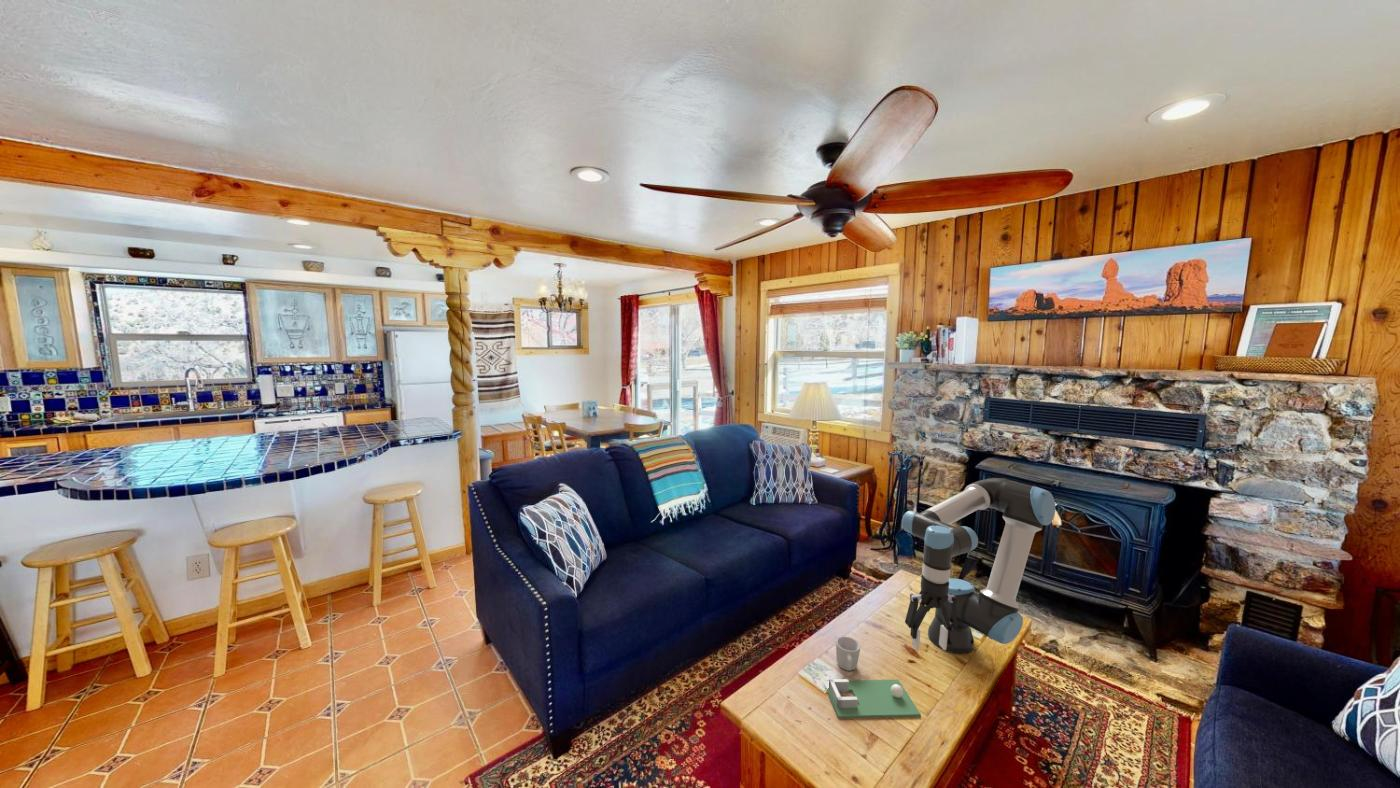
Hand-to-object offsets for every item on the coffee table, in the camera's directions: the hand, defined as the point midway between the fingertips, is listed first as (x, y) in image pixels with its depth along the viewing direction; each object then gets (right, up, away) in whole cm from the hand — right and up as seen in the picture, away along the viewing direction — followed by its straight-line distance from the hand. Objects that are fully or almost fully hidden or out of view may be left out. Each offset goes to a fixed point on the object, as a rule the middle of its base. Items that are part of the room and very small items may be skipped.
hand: (928, 647), depth 141 cm
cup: (-21, -15, +15) cm, 30 cm away
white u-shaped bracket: (-27, -17, +1) cm, 31 cm away
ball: (-9, -14, +1) cm, 17 cm away
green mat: (-18, -17, +1) cm, 25 cm away
